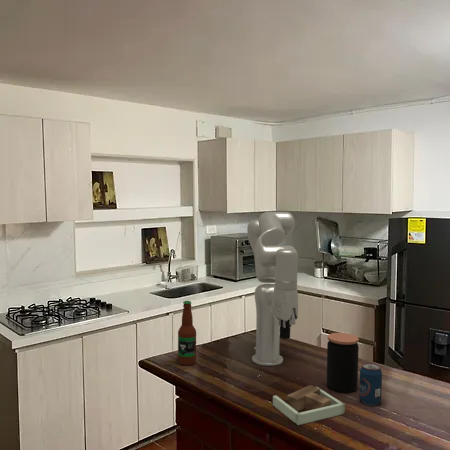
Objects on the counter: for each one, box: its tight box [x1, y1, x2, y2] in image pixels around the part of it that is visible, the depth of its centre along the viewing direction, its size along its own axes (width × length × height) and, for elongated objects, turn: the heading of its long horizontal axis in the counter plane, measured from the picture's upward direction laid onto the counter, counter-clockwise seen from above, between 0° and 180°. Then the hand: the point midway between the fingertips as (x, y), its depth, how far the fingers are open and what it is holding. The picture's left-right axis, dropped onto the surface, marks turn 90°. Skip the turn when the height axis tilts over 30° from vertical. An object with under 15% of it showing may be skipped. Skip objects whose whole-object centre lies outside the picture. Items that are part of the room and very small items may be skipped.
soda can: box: [358, 362, 383, 406], centre depth 149 cm, size 7×7×12 cm
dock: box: [272, 386, 346, 426], centre depth 144 cm, size 14×17×3 cm
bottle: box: [177, 300, 197, 367], centre depth 182 cm, size 7×7×25 cm
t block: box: [286, 384, 331, 412], centre depth 145 cm, size 11×12×4 cm
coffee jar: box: [326, 332, 360, 394], centre depth 161 cm, size 11×11×18 cm
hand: (284, 337), depth 156 cm, fingers closed
